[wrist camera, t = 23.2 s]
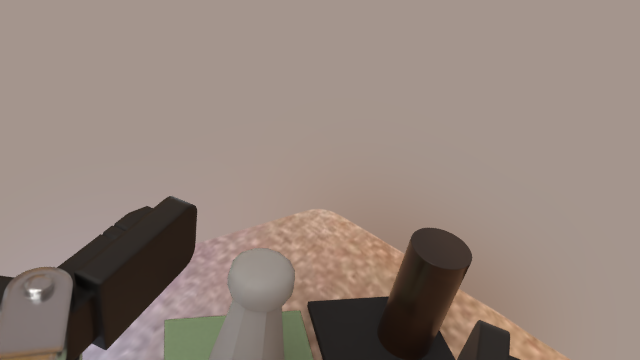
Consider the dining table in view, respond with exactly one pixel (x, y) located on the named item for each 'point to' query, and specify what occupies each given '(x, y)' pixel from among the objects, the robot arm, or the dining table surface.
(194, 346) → the sage mat
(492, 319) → the dining table surface
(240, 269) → the salt shaker
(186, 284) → the dining table surface
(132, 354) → the dining table surface
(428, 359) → the dark mat
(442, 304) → the dark brown cylinder
